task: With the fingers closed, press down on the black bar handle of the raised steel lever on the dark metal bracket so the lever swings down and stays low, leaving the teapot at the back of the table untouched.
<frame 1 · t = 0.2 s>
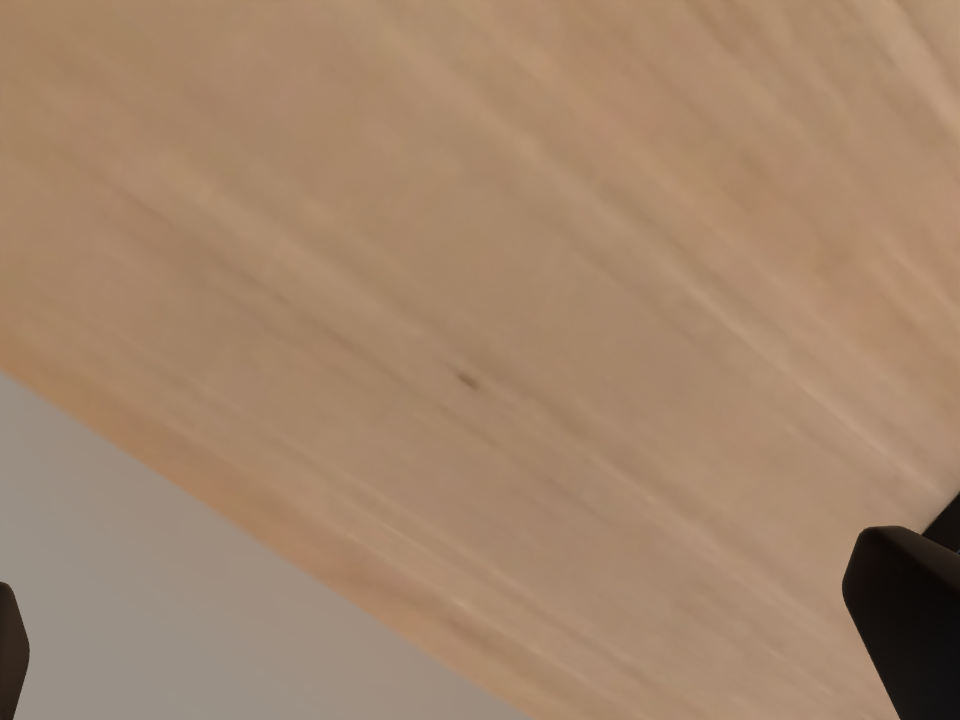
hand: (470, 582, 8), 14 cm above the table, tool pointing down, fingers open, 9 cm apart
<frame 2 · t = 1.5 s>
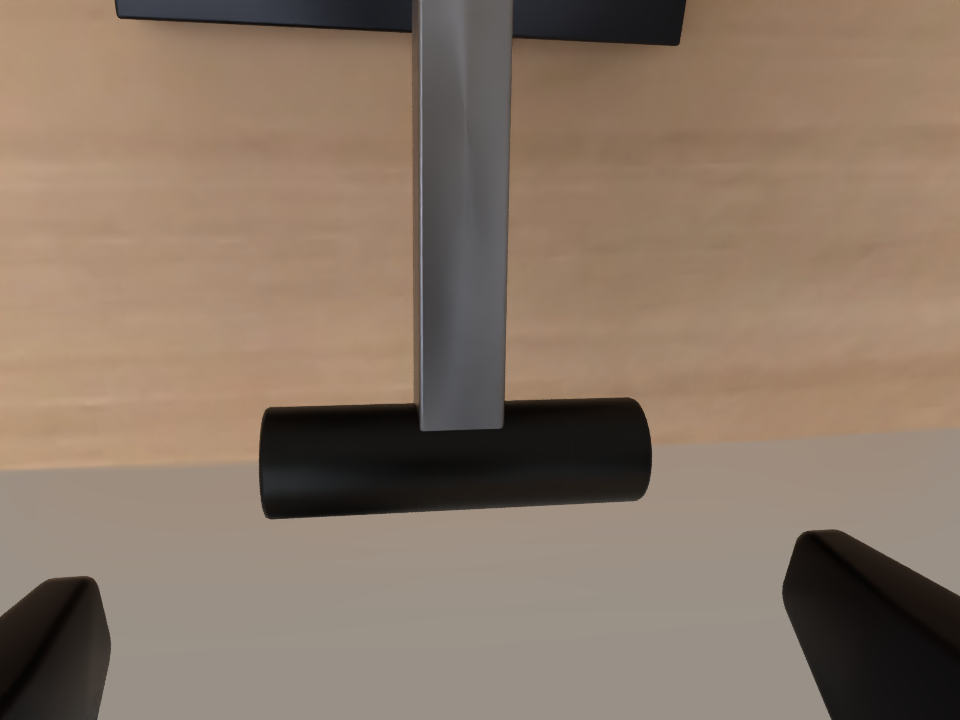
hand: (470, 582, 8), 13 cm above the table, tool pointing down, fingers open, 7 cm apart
lever: (460, 32, 9), point 9 cm above the table, hinge at 15.0°
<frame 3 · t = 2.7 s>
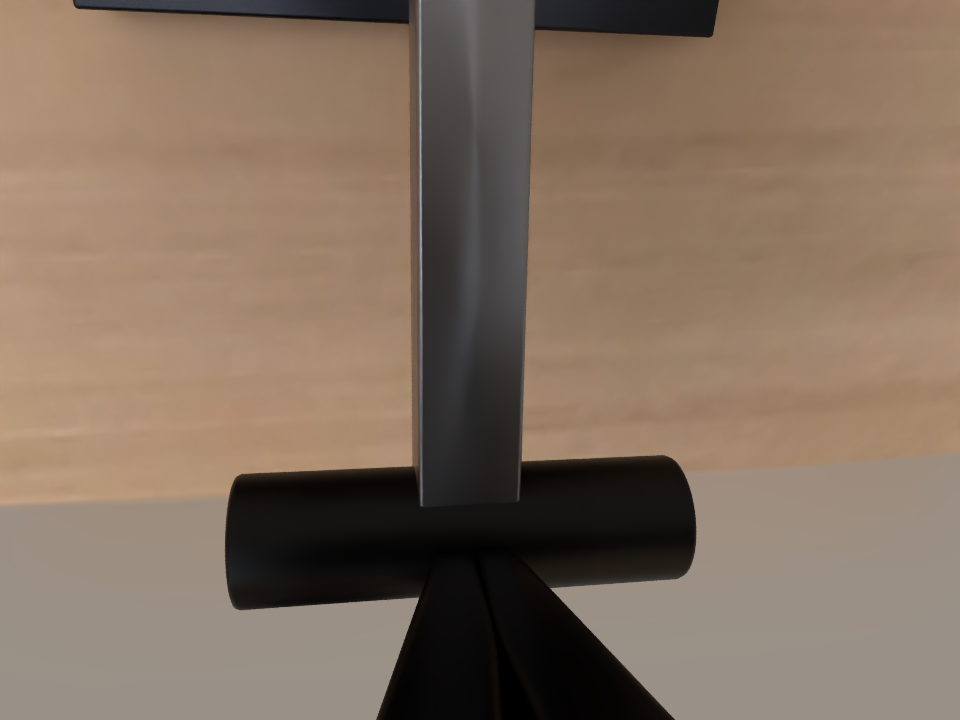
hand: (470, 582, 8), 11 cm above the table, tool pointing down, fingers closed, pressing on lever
lever: (469, 22, 7), point 9 cm above the table, hinge at 13.3°, touching gripper
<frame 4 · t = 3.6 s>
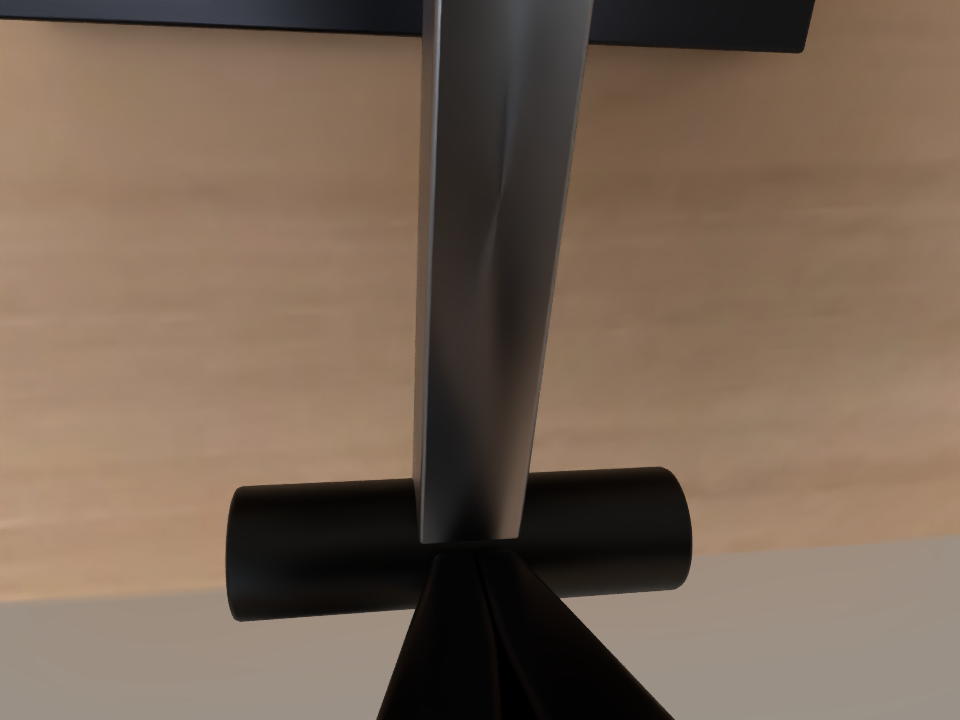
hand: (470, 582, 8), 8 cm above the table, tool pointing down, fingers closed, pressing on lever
lever: (499, 46, 6), point 7 cm above the table, hinge at -6.9°, touching gripper
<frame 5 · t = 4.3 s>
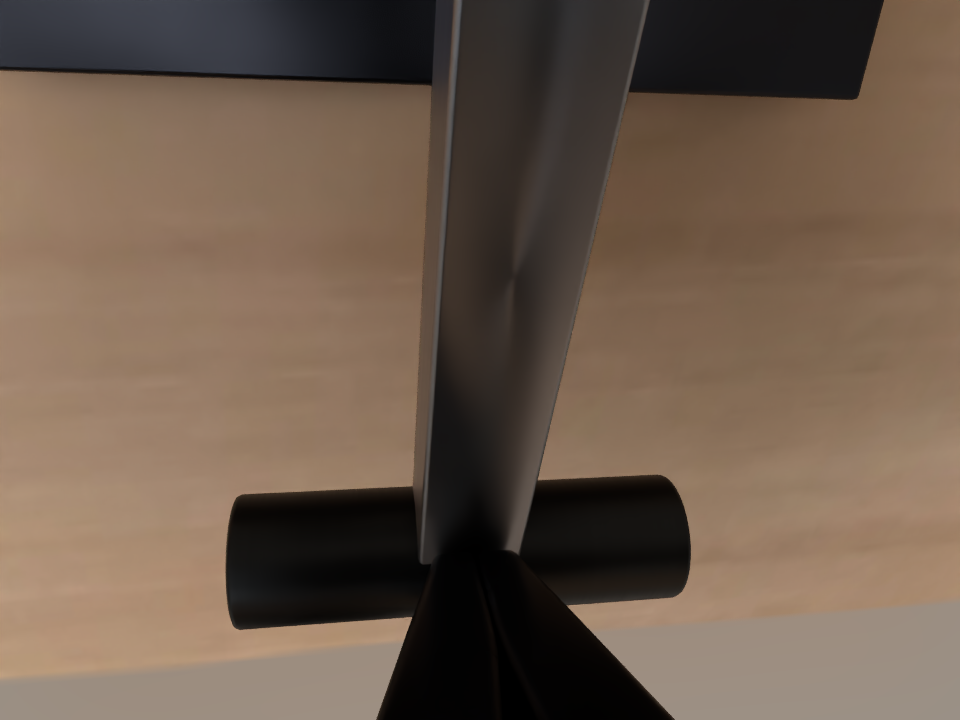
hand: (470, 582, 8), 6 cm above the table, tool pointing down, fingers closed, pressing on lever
lever: (520, 105, 5), point 7 cm above the table, hinge at -16.7°, touching gripper
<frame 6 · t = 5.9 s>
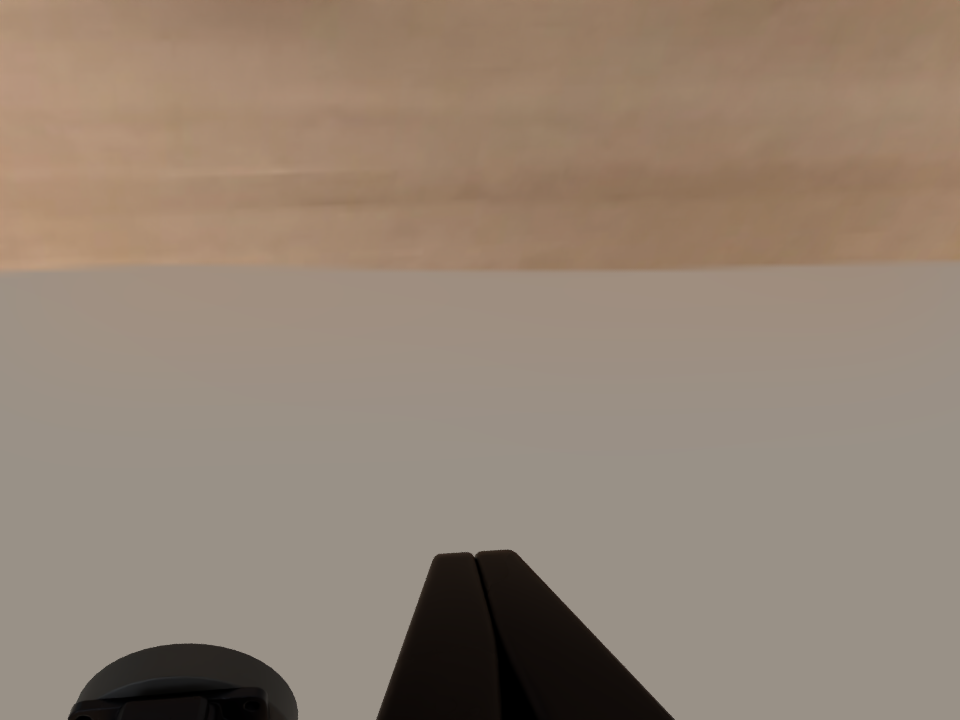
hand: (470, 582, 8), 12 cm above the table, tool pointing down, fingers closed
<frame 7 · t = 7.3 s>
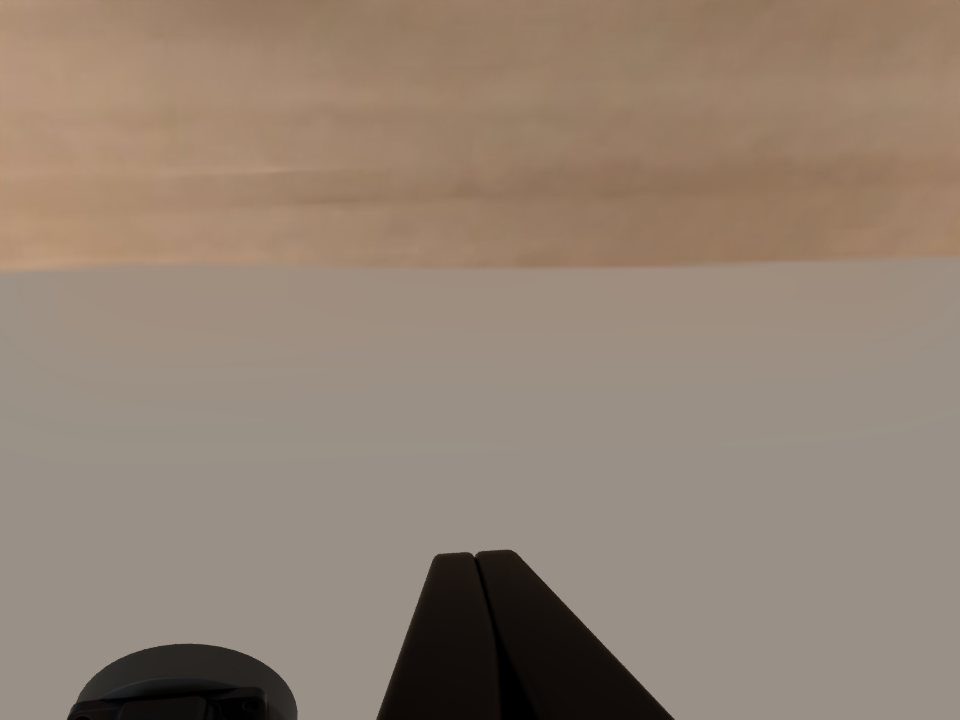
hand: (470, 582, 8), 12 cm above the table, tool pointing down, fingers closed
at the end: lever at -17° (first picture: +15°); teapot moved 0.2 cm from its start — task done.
